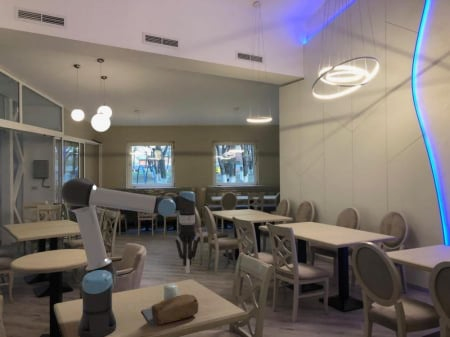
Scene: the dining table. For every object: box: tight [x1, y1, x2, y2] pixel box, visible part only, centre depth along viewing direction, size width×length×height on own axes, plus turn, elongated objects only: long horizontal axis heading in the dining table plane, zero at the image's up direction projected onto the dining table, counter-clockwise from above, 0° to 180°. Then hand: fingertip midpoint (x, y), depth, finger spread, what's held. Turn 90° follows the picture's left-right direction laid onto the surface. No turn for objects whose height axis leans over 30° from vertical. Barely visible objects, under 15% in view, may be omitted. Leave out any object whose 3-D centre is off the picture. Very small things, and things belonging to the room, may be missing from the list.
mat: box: [141, 307, 158, 326], centre depth 158 cm, size 18×16×1 cm
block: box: [151, 294, 199, 325], centre depth 154 cm, size 11×8×20 cm
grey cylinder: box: [163, 283, 179, 300], centre depth 173 cm, size 7×7×8 cm
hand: (187, 272), depth 163 cm, fingers closed
